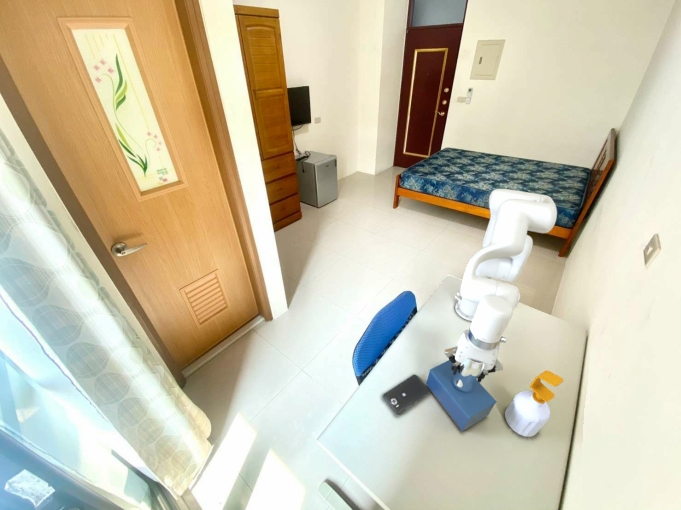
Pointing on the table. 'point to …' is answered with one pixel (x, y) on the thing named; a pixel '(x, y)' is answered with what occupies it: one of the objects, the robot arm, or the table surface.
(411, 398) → the smartphone
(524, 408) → the soap bottle
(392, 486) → the table surface
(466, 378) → the beer glass
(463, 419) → the blue rectangular box
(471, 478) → the table surface
